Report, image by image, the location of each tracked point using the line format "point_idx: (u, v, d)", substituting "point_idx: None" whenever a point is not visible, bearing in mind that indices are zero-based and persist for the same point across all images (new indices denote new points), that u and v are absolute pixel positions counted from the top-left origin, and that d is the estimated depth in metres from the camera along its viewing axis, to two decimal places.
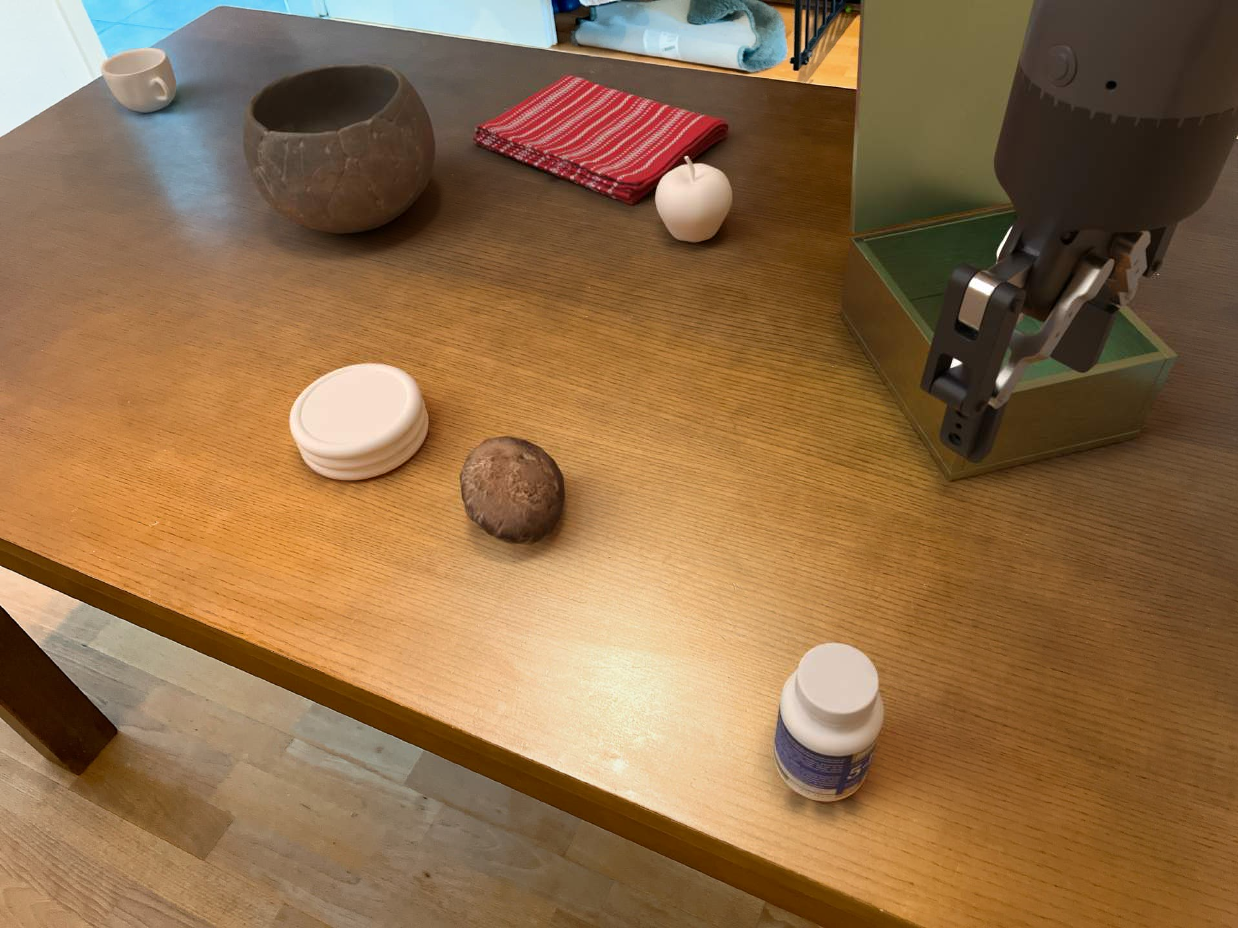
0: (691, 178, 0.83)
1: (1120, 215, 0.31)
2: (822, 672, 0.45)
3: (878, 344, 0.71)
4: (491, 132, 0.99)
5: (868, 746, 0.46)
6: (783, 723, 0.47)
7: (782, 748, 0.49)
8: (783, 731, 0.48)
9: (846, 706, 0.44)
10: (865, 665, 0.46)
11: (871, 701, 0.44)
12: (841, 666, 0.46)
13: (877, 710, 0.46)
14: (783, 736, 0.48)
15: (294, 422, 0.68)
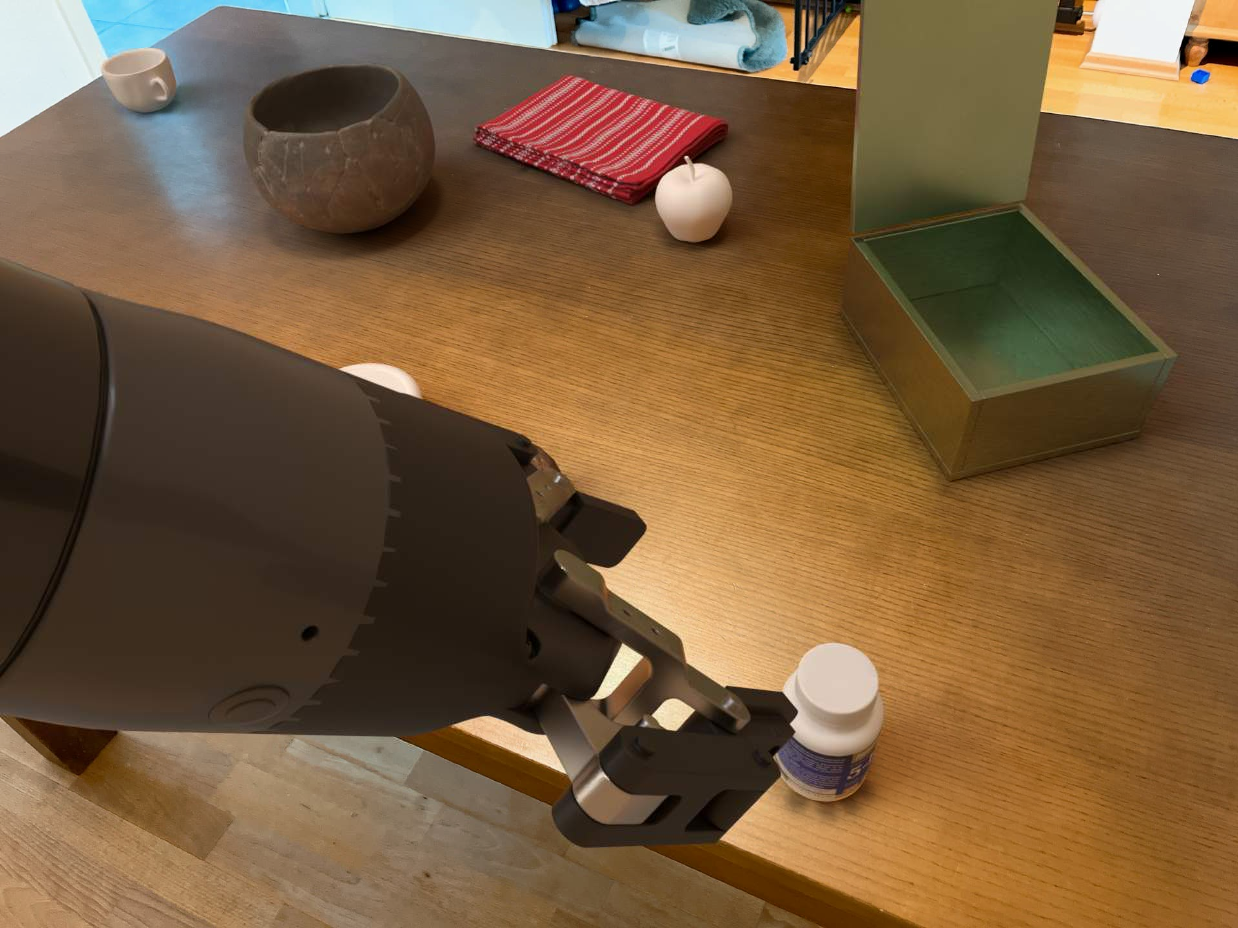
0: (691, 178, 0.83)
1: (516, 581, 0.19)
2: (822, 672, 0.45)
3: (878, 344, 0.71)
4: (491, 132, 0.99)
5: (868, 746, 0.46)
6: None
7: (782, 748, 0.49)
8: None
9: (846, 706, 0.44)
10: (865, 665, 0.46)
11: (871, 701, 0.44)
12: (841, 666, 0.46)
13: (877, 710, 0.46)
14: None
15: None
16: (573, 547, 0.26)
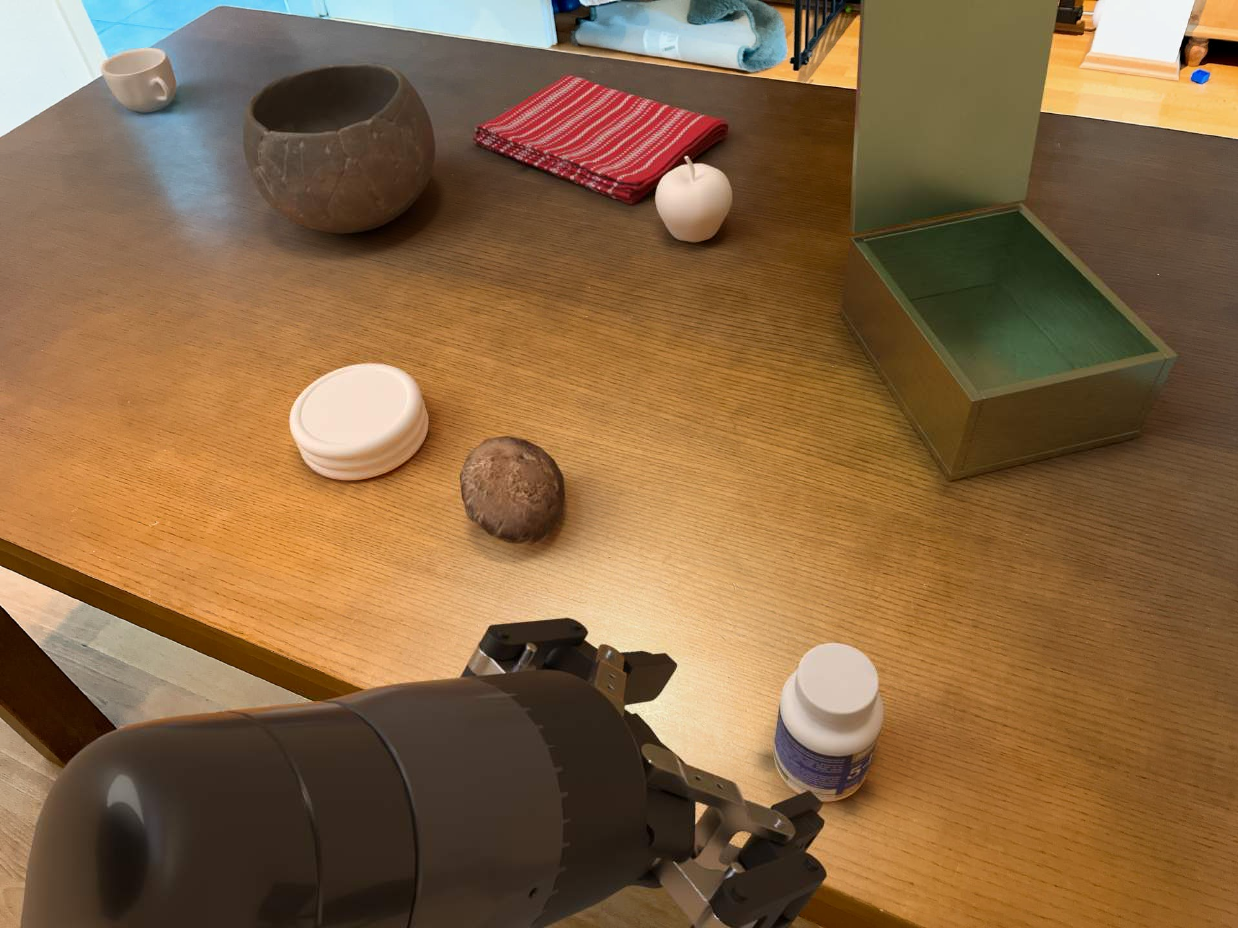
0: (691, 178, 0.83)
1: (637, 801, 0.27)
2: (822, 672, 0.45)
3: (878, 344, 0.71)
4: (491, 132, 0.99)
5: (868, 746, 0.46)
6: (783, 723, 0.47)
7: (782, 748, 0.49)
8: (783, 731, 0.48)
9: (846, 706, 0.44)
10: (865, 665, 0.46)
11: (871, 701, 0.44)
12: (841, 666, 0.46)
13: (877, 710, 0.46)
14: (783, 736, 0.48)
15: (294, 422, 0.68)
16: (640, 719, 0.35)
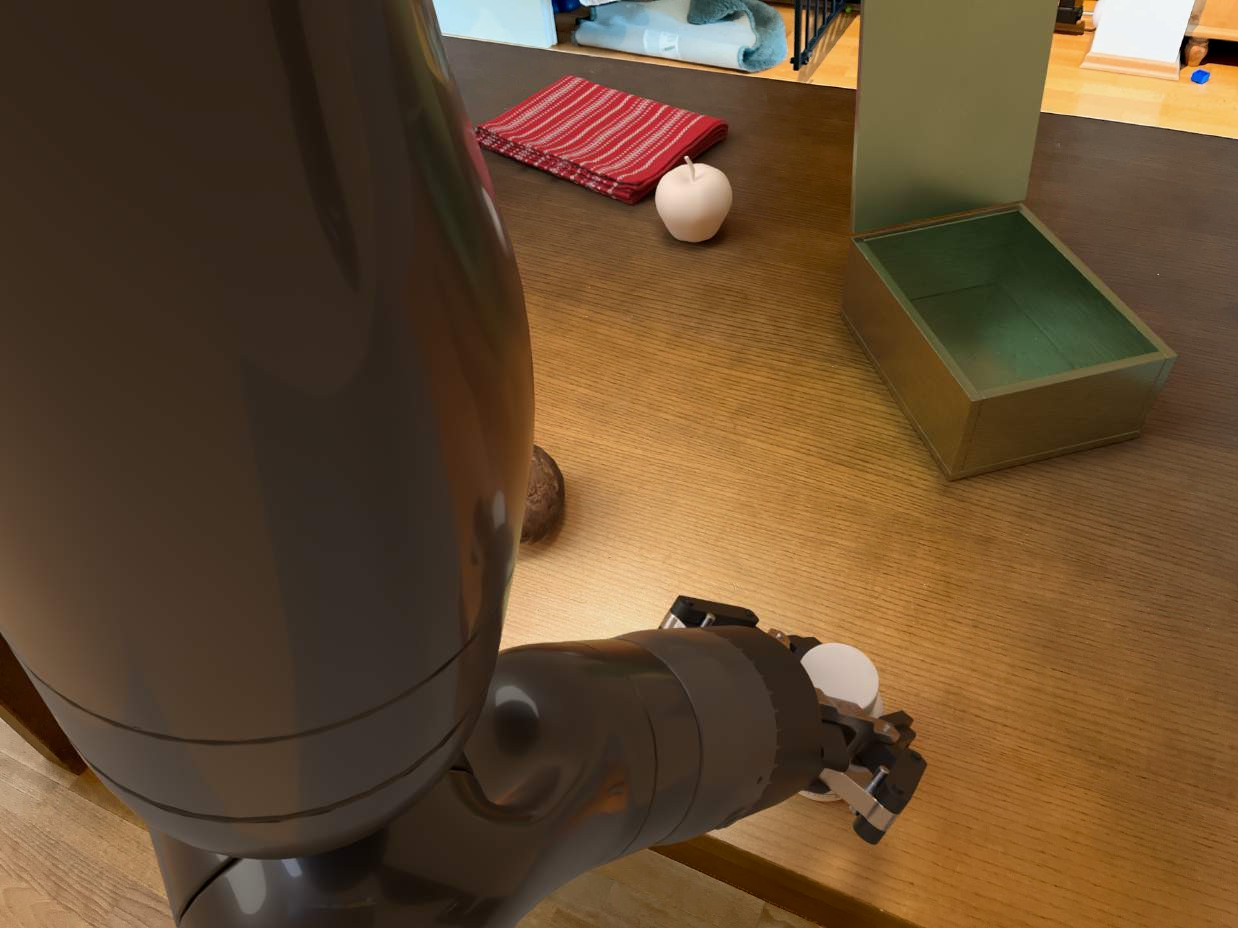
0: (691, 178, 0.83)
1: (816, 722, 0.36)
2: (823, 672, 0.45)
3: (878, 344, 0.71)
4: (491, 132, 0.99)
5: None
6: None
7: None
8: None
9: None
10: (865, 665, 0.46)
11: (871, 701, 0.44)
12: (841, 666, 0.46)
13: (878, 710, 0.46)
14: None
15: None
16: None
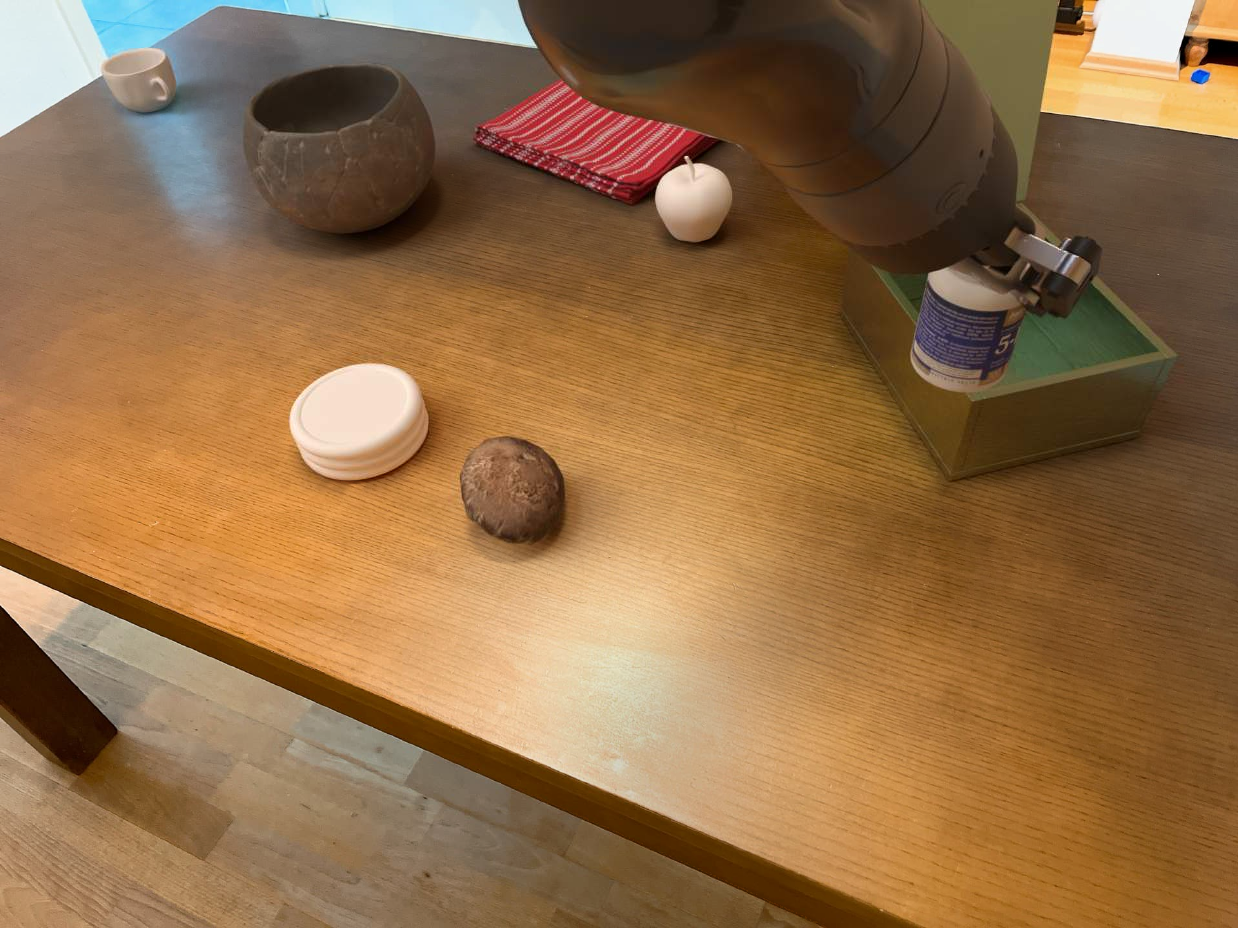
0: (691, 178, 0.83)
1: (1015, 157, 0.37)
2: None
3: (878, 344, 0.71)
4: (491, 132, 0.99)
5: None
6: (933, 293, 0.48)
7: (928, 331, 0.49)
8: (932, 304, 0.48)
9: None
10: None
11: None
12: None
13: None
14: (932, 312, 0.48)
15: (294, 422, 0.68)
16: None
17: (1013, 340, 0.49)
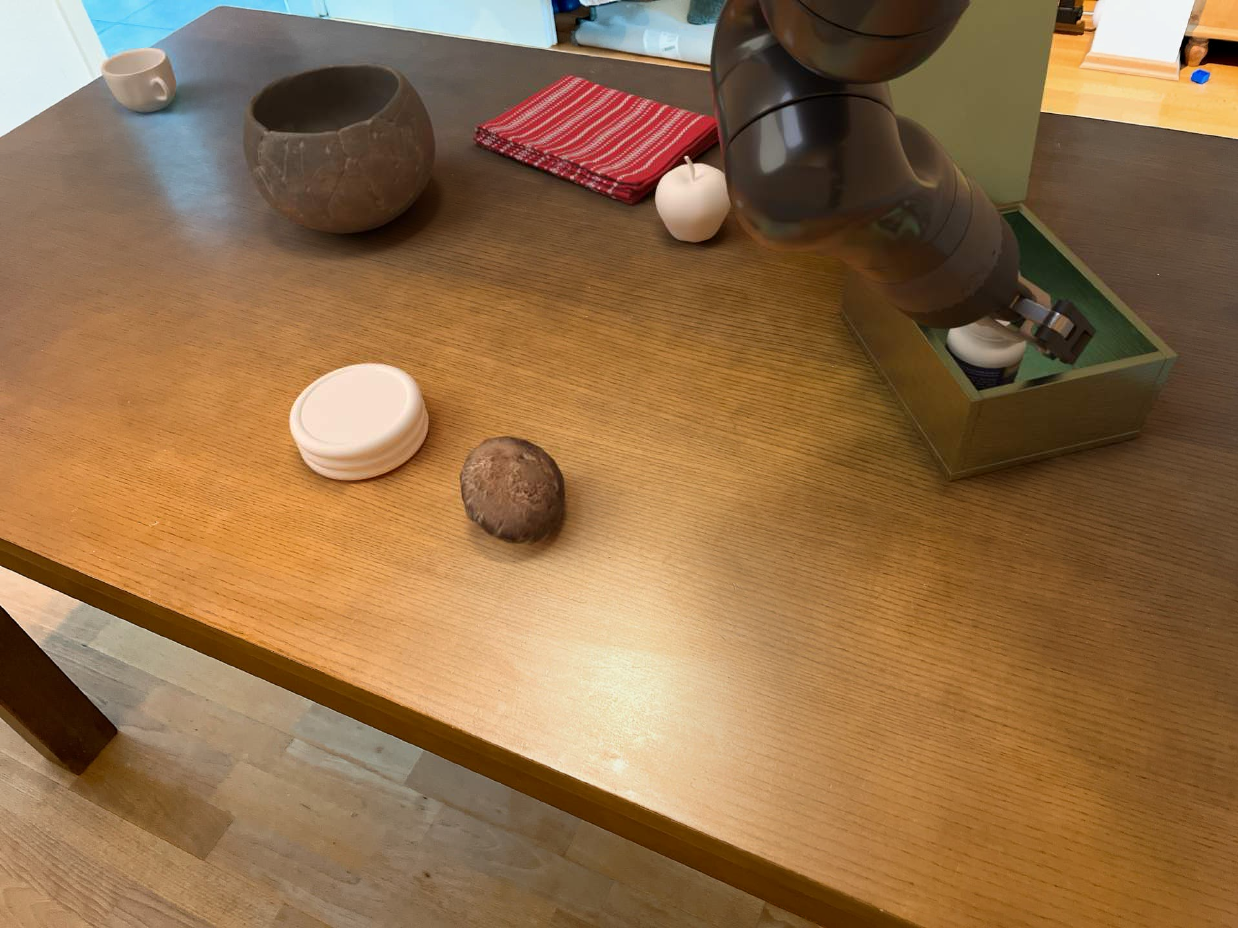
0: (691, 178, 0.83)
1: (1017, 249, 0.52)
2: None
3: (878, 344, 0.71)
4: (491, 132, 0.99)
5: (1016, 363, 0.63)
6: (951, 353, 0.64)
7: None
8: None
9: (1005, 322, 0.61)
10: None
11: None
12: None
13: None
14: None
15: (294, 422, 0.68)
16: None
17: None
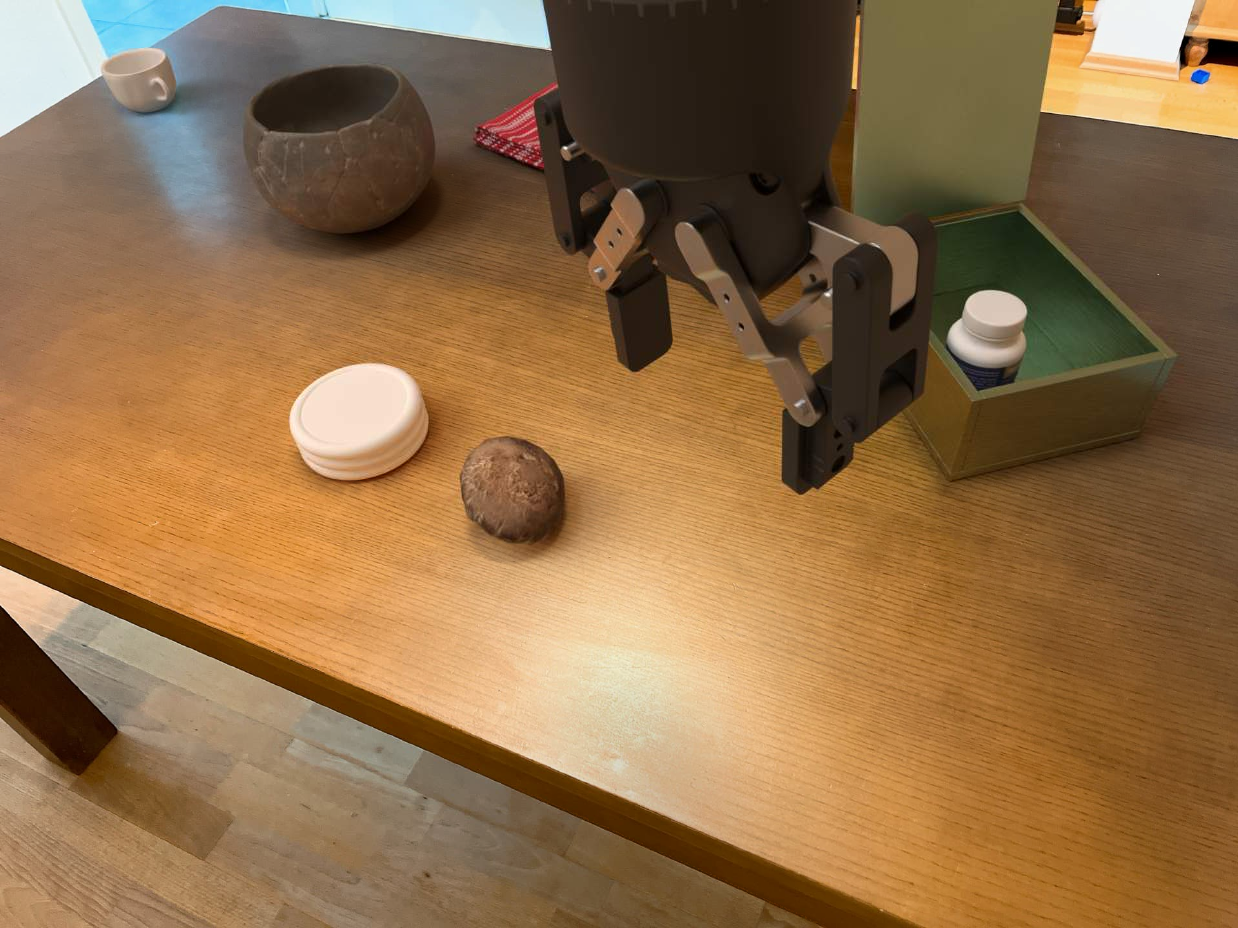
0: None
1: (852, 74, 0.23)
2: (984, 305, 0.62)
3: None
4: (491, 132, 0.99)
5: (1016, 363, 0.63)
6: (951, 353, 0.64)
7: None
8: None
9: (1005, 322, 0.61)
10: (1015, 301, 0.63)
11: (1022, 319, 0.61)
12: (998, 302, 0.63)
13: (1022, 338, 0.63)
14: None
15: (294, 422, 0.68)
16: None
17: None
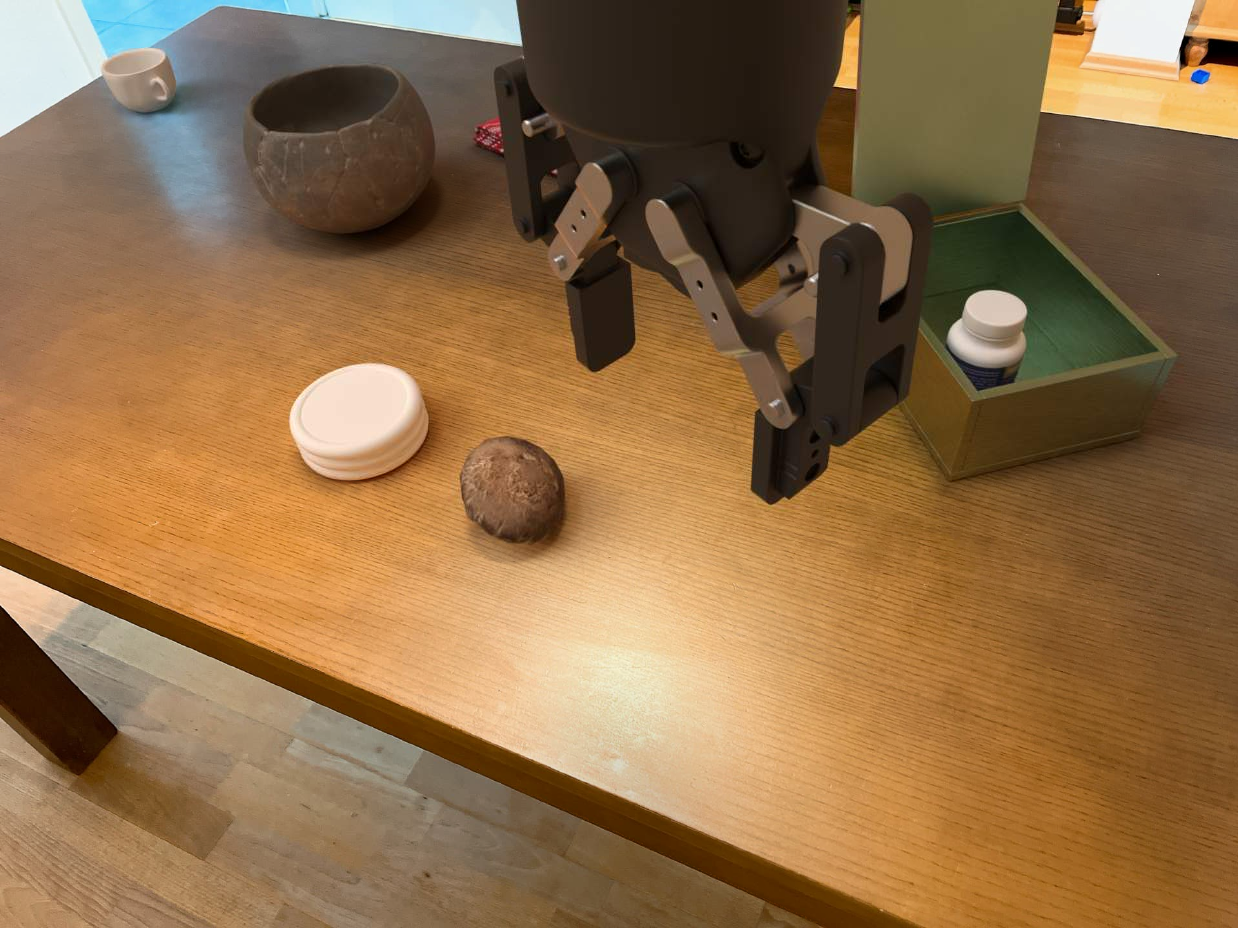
0: None
1: (843, 43, 0.21)
2: (984, 305, 0.62)
3: None
4: (491, 132, 0.99)
5: (1016, 363, 0.63)
6: (951, 353, 0.64)
7: None
8: None
9: (1005, 322, 0.61)
10: (1015, 301, 0.63)
11: (1023, 319, 0.61)
12: (998, 302, 0.63)
13: (1022, 338, 0.63)
14: None
15: (294, 422, 0.68)
16: None
17: None
